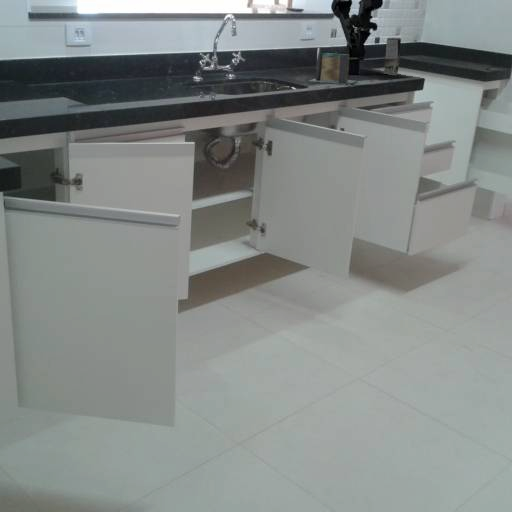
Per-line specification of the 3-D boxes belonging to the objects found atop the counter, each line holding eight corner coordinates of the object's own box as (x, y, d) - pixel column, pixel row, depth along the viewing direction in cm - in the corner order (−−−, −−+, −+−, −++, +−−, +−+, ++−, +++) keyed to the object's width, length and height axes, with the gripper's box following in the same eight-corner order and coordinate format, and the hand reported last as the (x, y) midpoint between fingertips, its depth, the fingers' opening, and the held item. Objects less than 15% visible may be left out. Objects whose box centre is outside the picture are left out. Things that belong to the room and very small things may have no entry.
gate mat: (309, 81, 306) (309, 80, 306) (317, 78, 315) (317, 77, 315) (349, 85, 299) (349, 83, 299) (356, 81, 309) (356, 80, 309)
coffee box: (397, 75, 332) (401, 39, 326) (383, 74, 333) (386, 39, 327) (398, 73, 340) (401, 37, 334) (384, 72, 341) (387, 37, 335)
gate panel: (320, 79, 306) (322, 53, 302) (321, 79, 307) (323, 52, 303) (346, 81, 302) (348, 54, 298) (347, 81, 303) (349, 54, 299)
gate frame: (314, 81, 307) (316, 47, 301) (317, 81, 309) (318, 47, 303) (344, 84, 300) (347, 50, 295) (347, 84, 302) (349, 49, 297)
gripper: (339, 13, 321) (334, 48, 322) (357, 4, 304) (351, 41, 305) (362, 19, 325) (356, 53, 326) (380, 10, 307) (374, 46, 308)
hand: (359, 48), depth 316 cm, fingers closed
